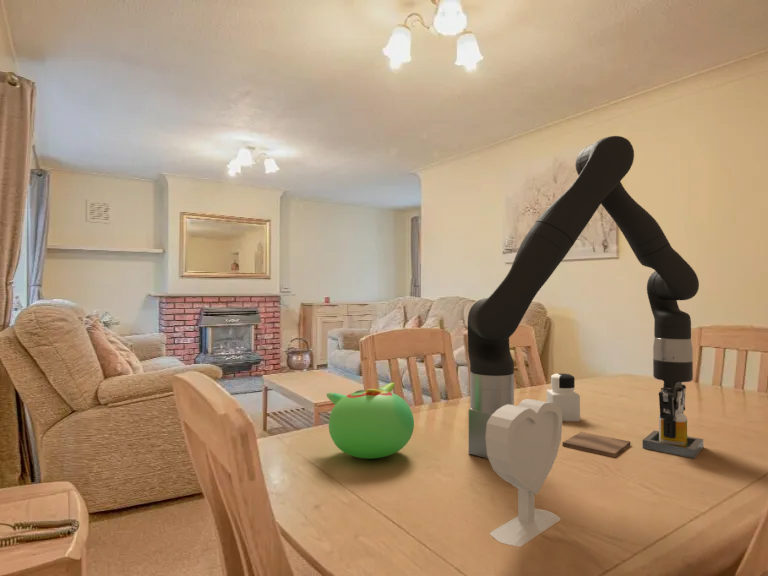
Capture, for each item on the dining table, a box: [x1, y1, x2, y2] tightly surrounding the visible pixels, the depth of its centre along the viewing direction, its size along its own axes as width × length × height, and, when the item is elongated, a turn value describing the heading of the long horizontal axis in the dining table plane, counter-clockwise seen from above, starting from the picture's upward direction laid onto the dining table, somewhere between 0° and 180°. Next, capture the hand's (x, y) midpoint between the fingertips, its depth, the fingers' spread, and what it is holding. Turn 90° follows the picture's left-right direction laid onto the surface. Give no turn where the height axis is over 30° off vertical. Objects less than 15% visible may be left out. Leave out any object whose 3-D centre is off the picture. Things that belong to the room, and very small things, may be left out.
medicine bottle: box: [546, 372, 581, 423], centre depth 130 cm, size 7×7×12 cm
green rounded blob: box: [326, 382, 415, 460], centre depth 101 cm, size 18×17×15 cm
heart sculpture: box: [485, 398, 563, 548], centre depth 70 cm, size 16×5×18 cm, turn 133°
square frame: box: [642, 430, 704, 459], centre depth 105 cm, size 10×10×2 cm
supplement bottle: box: [658, 404, 688, 447], centre depth 106 cm, size 5×5×10 cm
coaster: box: [562, 431, 631, 458], centre depth 107 cm, size 11×11×1 cm
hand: (673, 434), depth 106 cm, fingers closed on supplement bottle, 5 cm apart
